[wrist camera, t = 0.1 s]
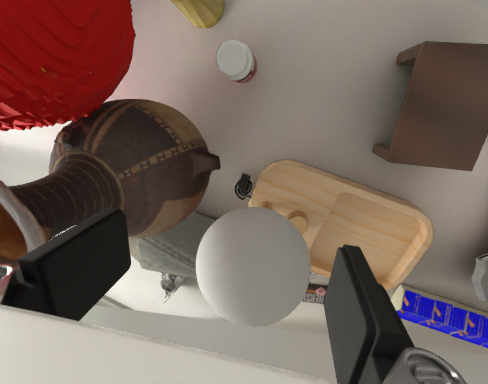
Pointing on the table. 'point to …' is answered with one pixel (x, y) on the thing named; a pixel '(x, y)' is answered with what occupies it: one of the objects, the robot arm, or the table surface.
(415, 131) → the shelf
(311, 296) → the chocolate bar
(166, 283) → the house of cards
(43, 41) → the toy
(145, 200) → the vase
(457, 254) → the table surface
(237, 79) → the pill bottle
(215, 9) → the vase
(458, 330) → the building
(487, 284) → the toy spaceship
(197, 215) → the stone
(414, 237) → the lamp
